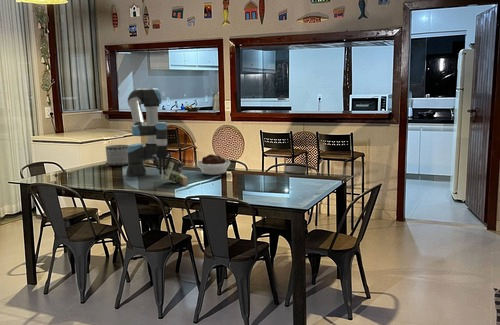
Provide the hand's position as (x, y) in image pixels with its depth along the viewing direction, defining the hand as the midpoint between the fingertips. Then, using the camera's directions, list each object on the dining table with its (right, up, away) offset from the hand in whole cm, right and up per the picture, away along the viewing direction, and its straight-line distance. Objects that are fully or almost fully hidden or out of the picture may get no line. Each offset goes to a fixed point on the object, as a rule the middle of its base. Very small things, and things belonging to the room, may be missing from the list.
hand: (162, 179), depth 332 cm
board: (+12, -2, +7) cm, 14 cm away
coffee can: (+5, -1, +3) cm, 5 cm away
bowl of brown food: (+33, +2, +35) cm, 48 cm away
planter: (-52, +9, +79) cm, 95 cm away
